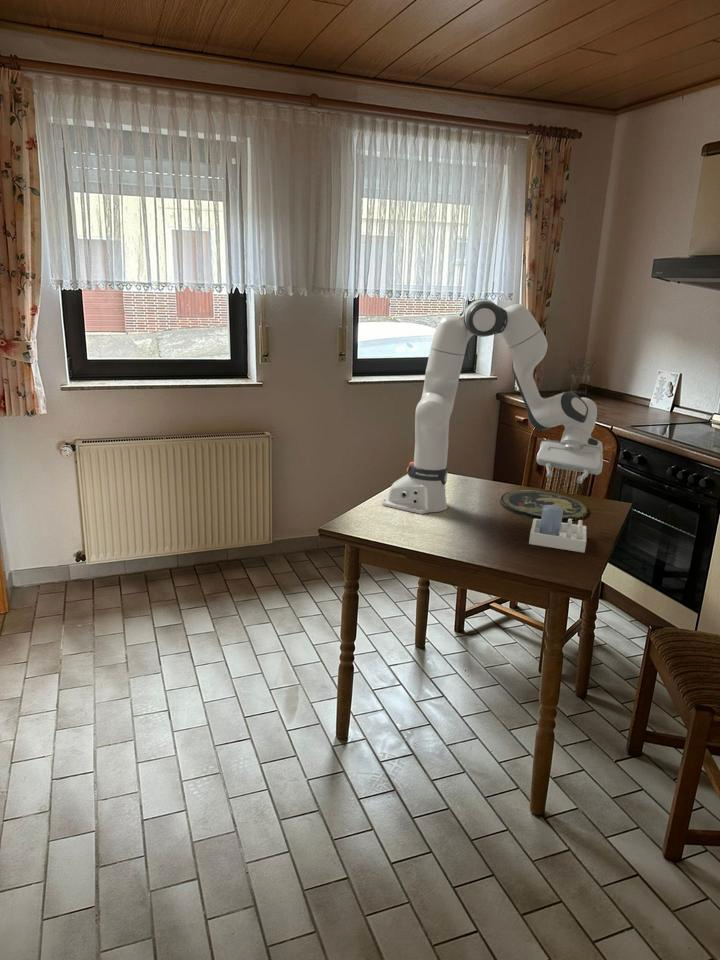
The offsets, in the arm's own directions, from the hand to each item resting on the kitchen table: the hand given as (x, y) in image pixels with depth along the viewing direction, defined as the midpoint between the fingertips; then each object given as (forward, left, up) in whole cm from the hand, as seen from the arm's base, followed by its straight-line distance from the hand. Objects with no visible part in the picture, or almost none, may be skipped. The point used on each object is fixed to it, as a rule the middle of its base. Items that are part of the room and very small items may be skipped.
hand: (563, 479), depth 211 cm
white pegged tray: (+1, -11, -16) cm, 20 cm away
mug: (-2, -11, -15) cm, 19 cm away
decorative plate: (-5, +21, -17) cm, 28 cm away
